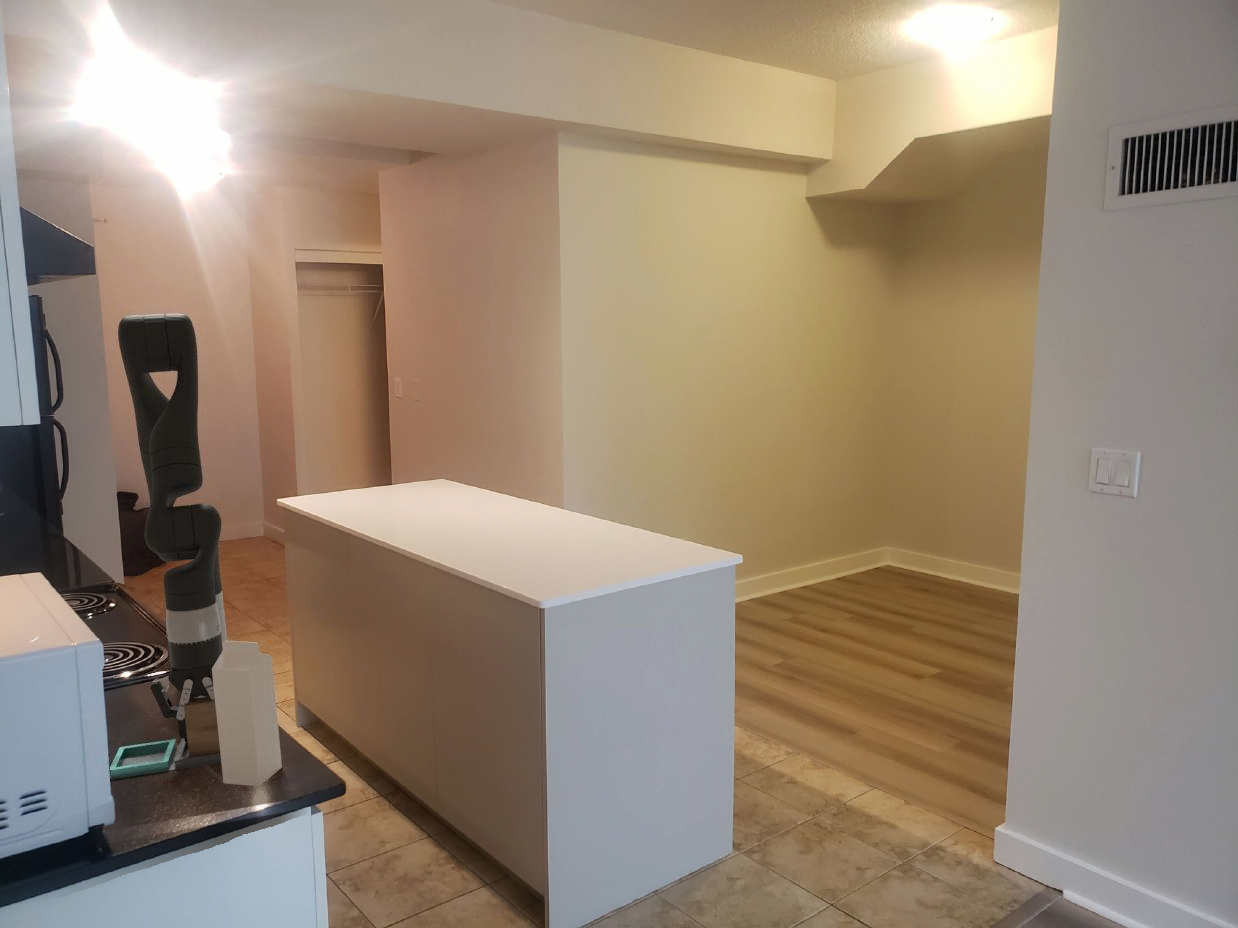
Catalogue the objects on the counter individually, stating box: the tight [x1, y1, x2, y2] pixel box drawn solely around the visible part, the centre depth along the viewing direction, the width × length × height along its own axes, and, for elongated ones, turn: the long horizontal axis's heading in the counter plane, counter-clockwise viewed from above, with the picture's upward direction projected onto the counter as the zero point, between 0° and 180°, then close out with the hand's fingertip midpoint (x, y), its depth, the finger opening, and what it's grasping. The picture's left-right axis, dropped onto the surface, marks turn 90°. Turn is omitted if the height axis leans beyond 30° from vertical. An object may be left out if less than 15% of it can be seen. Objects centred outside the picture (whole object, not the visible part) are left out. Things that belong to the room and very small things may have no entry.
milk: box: [212, 640, 283, 787], centre depth 137 cm, size 6×6×22 cm
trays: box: [109, 738, 221, 780], centre depth 145 cm, size 9×18×2 cm, turn 107°
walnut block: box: [184, 696, 220, 756], centre depth 146 cm, size 4×4×9 cm
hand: (205, 736), depth 146 cm, fingers closed on walnut block, 4 cm apart
